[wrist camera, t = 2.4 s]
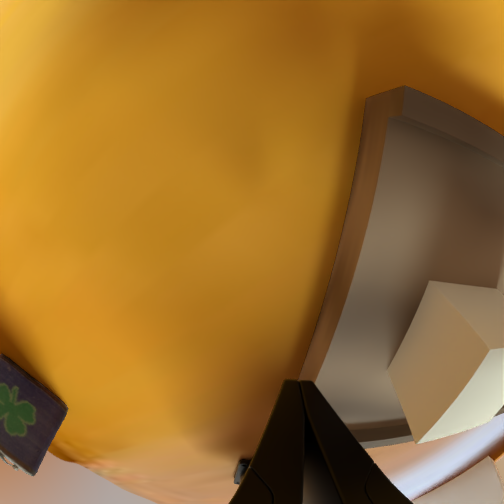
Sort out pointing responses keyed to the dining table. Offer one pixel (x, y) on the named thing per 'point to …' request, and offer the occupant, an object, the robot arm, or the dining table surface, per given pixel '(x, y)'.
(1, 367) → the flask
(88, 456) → the dining table surface
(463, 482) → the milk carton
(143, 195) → the dining table surface
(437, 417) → the block
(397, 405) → the box
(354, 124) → the dining table surface
